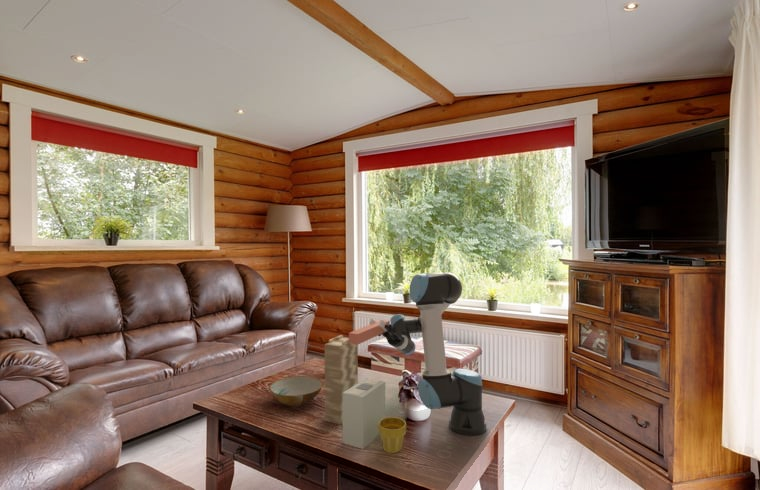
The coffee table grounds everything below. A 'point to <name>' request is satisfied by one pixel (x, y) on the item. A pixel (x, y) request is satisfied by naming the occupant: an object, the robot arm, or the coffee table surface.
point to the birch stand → (339, 375)
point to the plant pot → (392, 433)
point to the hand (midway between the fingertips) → (375, 322)
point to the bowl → (296, 390)
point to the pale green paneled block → (363, 412)
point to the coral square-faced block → (366, 333)
